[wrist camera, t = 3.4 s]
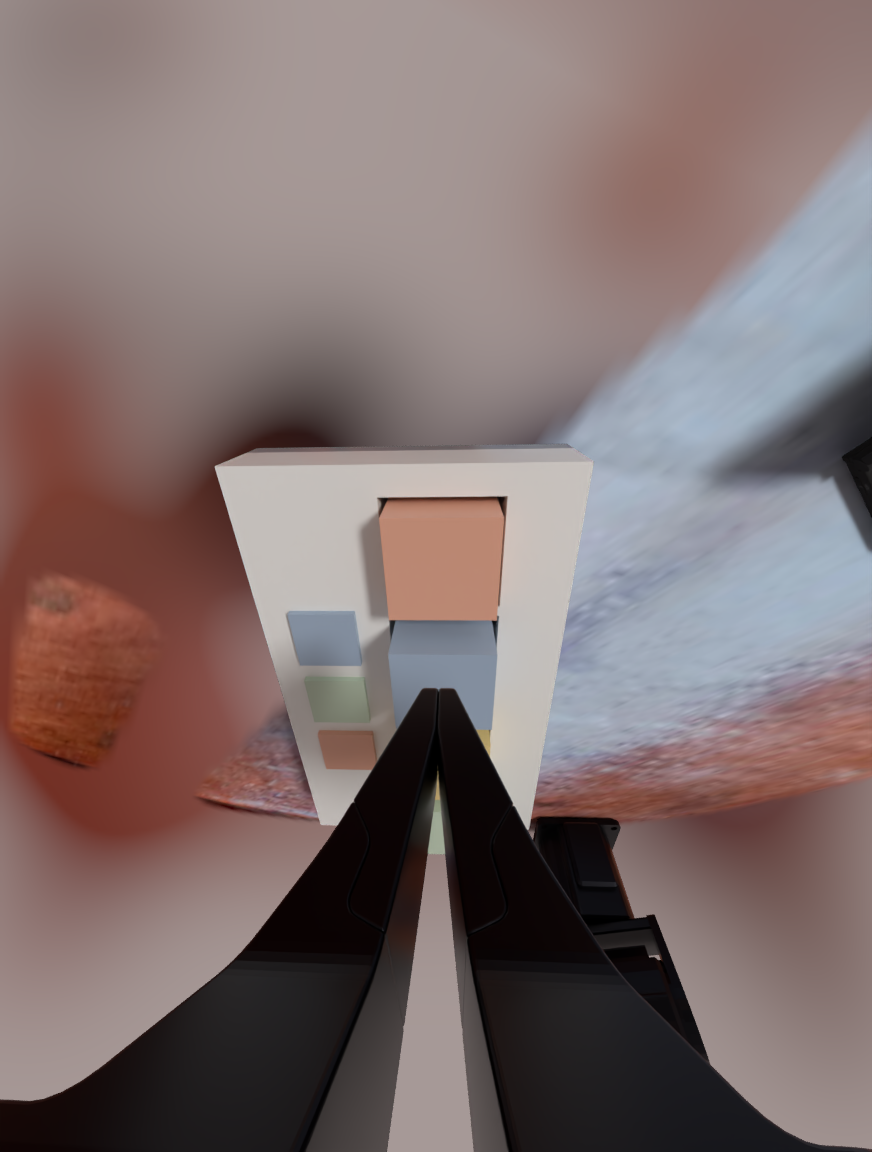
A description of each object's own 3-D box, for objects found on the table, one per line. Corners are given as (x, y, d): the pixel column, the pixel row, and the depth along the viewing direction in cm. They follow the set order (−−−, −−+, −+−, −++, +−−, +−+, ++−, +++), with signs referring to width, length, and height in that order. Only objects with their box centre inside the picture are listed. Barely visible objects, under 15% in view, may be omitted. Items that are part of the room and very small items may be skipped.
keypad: (520, 778, 28) (529, 834, 25) (335, 775, 29) (319, 829, 26) (567, 443, 17) (596, 463, 13) (257, 448, 17) (210, 468, 14)
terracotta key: (489, 578, 18) (496, 620, 15) (398, 578, 19) (388, 620, 16) (493, 489, 16) (504, 517, 13) (392, 490, 16) (378, 518, 13)
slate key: (485, 675, 20) (491, 729, 17) (403, 674, 21) (395, 728, 17) (489, 606, 18) (497, 655, 15) (398, 606, 18) (388, 654, 15)
